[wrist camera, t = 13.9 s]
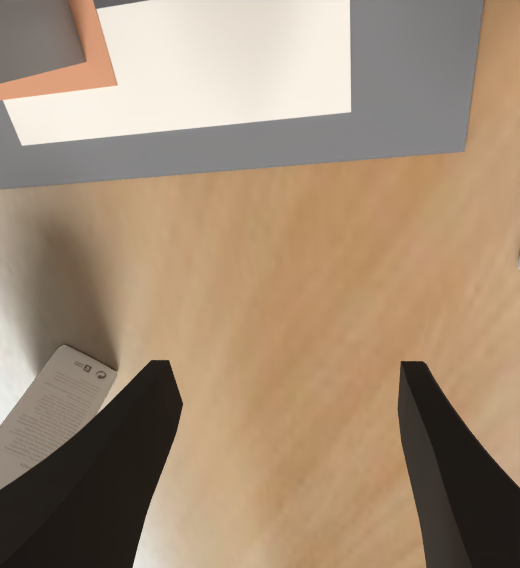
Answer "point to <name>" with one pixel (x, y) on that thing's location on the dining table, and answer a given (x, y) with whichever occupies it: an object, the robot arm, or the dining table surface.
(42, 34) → the grey post with dome
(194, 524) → the dining table surface
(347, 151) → the mat
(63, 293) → the dining table surface
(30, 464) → the skincare box
